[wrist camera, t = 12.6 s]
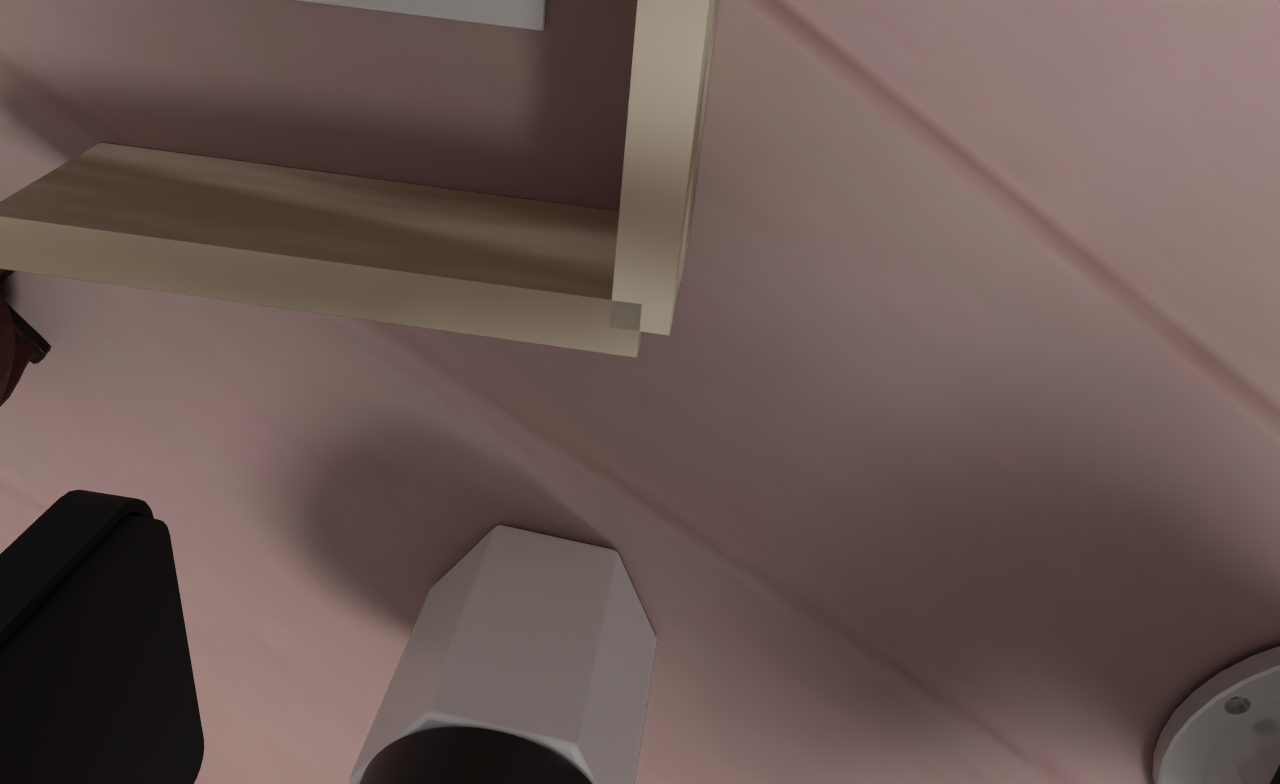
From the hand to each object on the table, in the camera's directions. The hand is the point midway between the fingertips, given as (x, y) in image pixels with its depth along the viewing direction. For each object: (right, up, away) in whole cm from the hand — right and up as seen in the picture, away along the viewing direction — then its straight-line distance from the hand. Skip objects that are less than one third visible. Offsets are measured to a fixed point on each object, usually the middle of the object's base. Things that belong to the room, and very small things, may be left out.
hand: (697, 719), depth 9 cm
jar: (-4, -6, +34) cm, 34 cm away
